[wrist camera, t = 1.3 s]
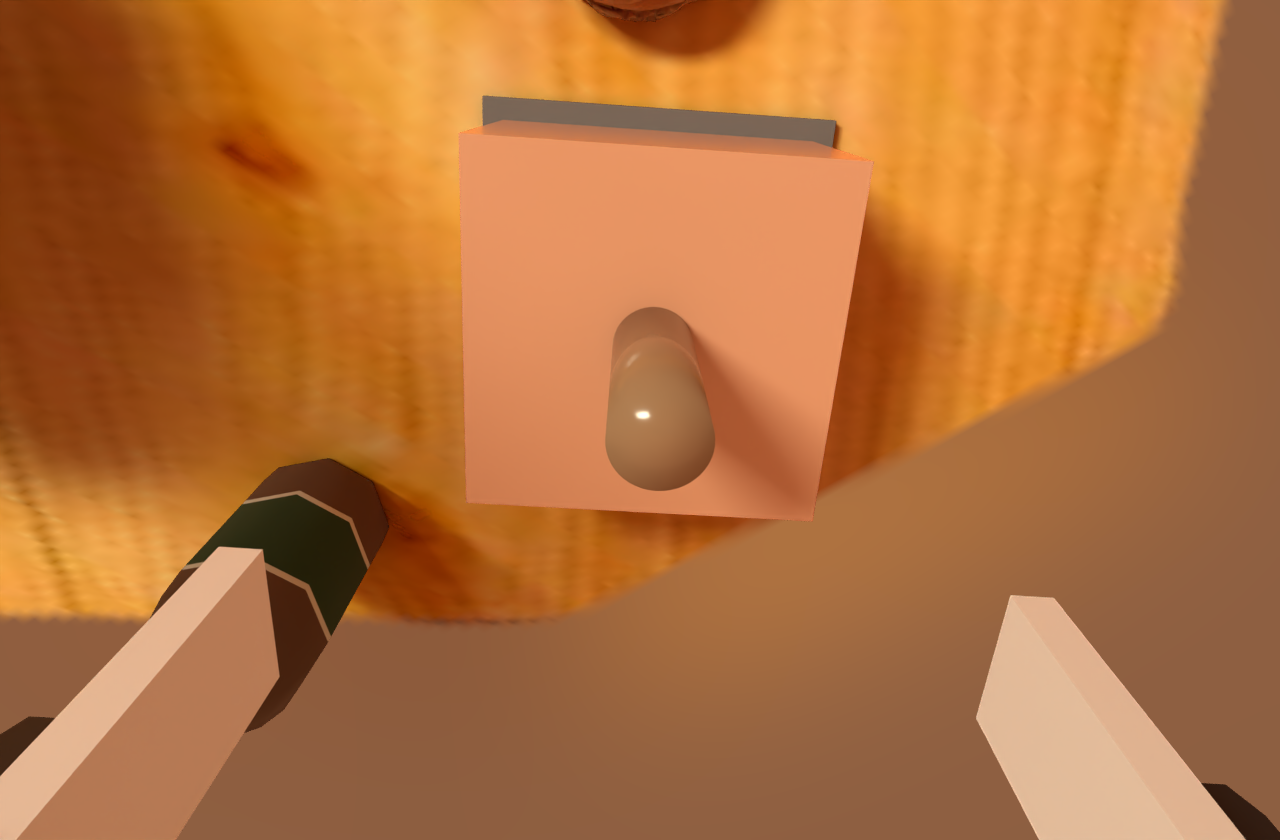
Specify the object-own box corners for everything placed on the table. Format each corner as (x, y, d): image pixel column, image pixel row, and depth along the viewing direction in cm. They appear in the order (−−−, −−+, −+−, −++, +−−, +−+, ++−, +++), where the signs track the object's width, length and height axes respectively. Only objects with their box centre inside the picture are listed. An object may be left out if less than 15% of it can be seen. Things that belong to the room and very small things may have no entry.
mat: (487, 420, 45) (485, 424, 45) (484, 95, 39) (482, 96, 38) (786, 437, 46) (788, 441, 45) (833, 120, 39) (836, 120, 39)
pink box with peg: (503, 408, 44) (412, 639, 26) (503, 119, 39) (385, 154, 20) (772, 424, 45) (869, 661, 27) (812, 141, 39) (972, 193, 21)
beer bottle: (231, 496, 47) (-126, 864, 25) (331, 428, 45) (44, 757, 23) (321, 589, 50) (71, 997, 27) (419, 527, 48) (236, 909, 26)
